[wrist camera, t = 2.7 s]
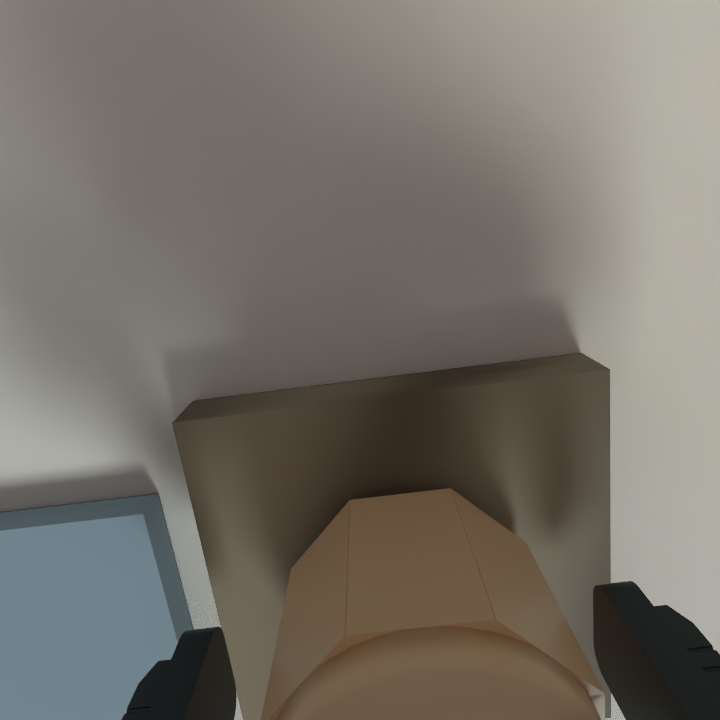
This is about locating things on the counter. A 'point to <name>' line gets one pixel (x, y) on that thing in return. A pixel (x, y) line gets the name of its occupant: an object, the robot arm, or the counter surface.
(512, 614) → the cap
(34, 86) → the counter surface
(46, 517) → the tile
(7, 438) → the counter surface
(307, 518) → the post stand
